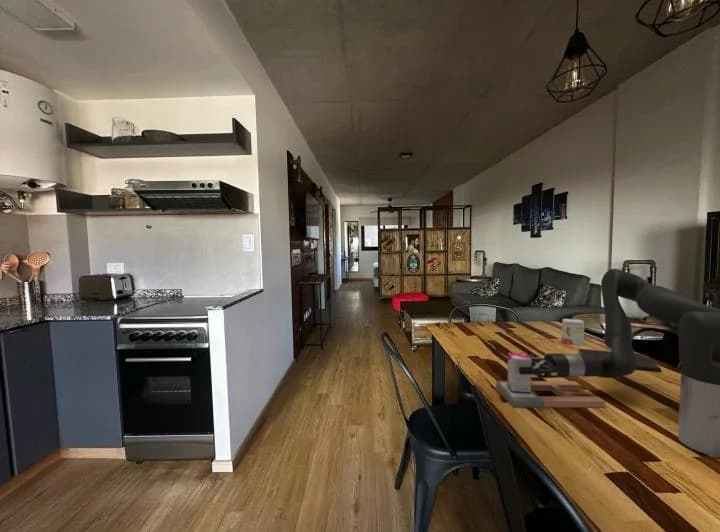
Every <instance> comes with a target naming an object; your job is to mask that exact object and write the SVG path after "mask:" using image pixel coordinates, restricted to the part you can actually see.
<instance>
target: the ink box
mask: <svg viewBox="0 0 720 532" xmlns="http://www.w3.org/2000/svg"><path fill="white" fill-rule="evenodd" d="M561 322H562V323H561V343H563V345H568V346H569V345H570V346H583V347H584V345H585V322H584V321H583V319H574V318H573V319H572V318H563V319H562V321H561Z"/></svg>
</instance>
